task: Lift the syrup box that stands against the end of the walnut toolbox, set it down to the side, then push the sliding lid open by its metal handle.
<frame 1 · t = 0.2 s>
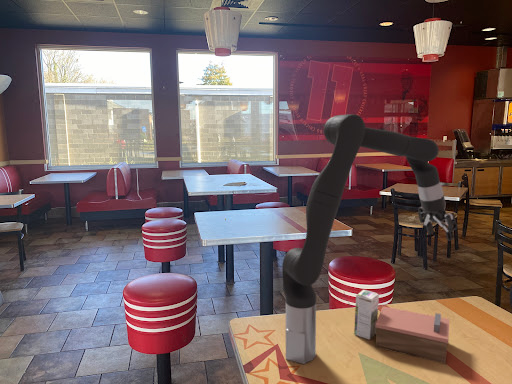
hand: (440, 236, 134), 31 cm above the table, tool tilted 20°, fingers open, 8 cm apart
syrup box: (365, 334, 129), on the table
toolbox lid: (412, 319, 121), point 9 cm above the table, slide at 0.0 cm
toolbox: (411, 344, 123), on the table
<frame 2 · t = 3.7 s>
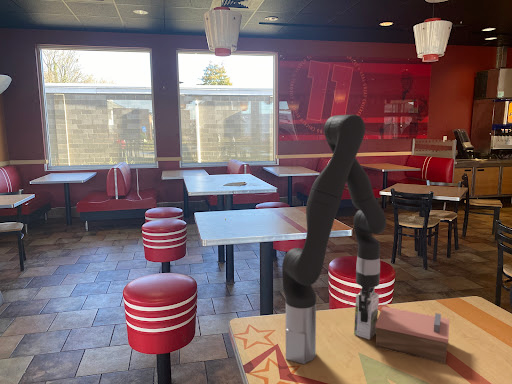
hand: (366, 317, 128), 6 cm above the table, tool pointing down, fingers closed on syrup box, 6 cm apart
syrup box: (365, 334, 129), on the table, touching gripper
everything else where it was.
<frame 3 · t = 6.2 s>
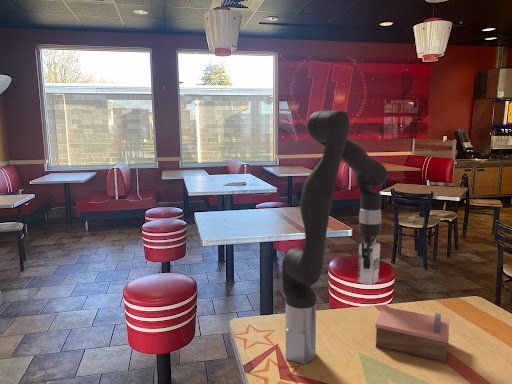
hand: (368, 265, 139), 20 cm above the table, tool pointing down, fingers closed on syrup box, 6 cm apart
syrup box: (368, 282, 140), point 13 cm above the table, touching gripper
everything else where it was.
when the fingers open (8 cm above the table, at t = 9.0 s): syrup box drops 1 cm, on the table.
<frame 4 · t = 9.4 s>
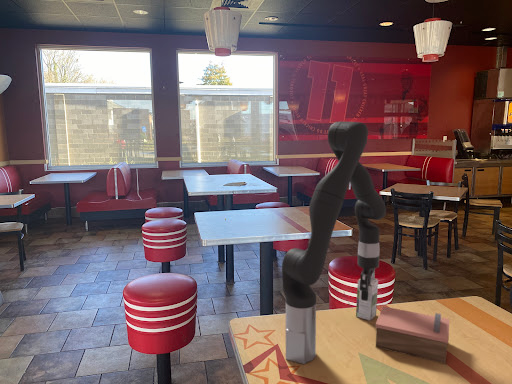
hand: (367, 295, 141), 8 cm above the table, tool pointing down, fingers open, 8 cm apart
syrup box: (366, 316, 142), on the table
everything else where it was.
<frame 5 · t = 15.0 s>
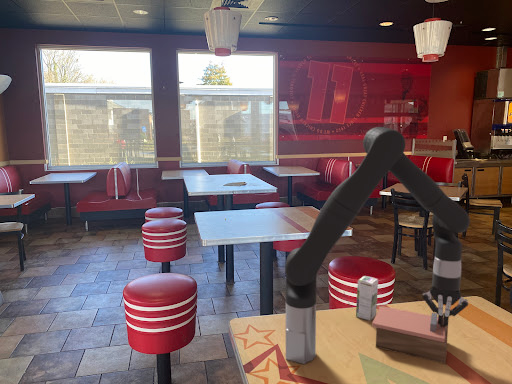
hand: (442, 325, 117), 9 cm above the table, tool pointing down, fingers closed
toolbox lid: (409, 319, 122), point 9 cm above the table, slide at 1.0 cm, touching gripper
everything else where it was.
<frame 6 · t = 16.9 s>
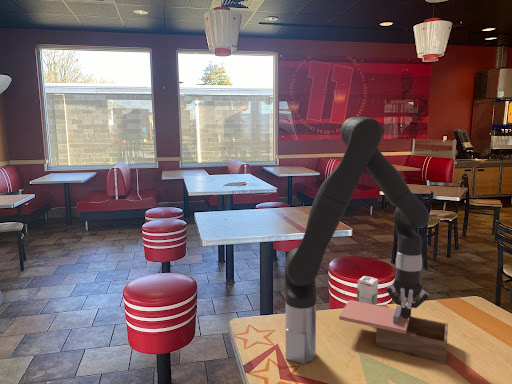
hand: (405, 317, 122), 9 cm above the table, tool pointing down, fingers closed
toolbox lid: (375, 312, 127), point 9 cm above the table, slide at 11.6 cm, touching gripper
everything else where it was.
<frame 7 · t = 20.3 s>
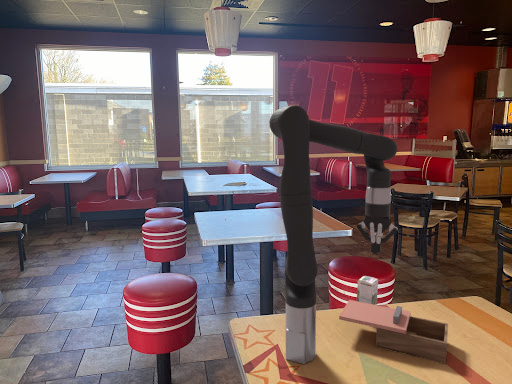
hand: (375, 253, 123), 29 cm above the table, tool pointing down, fingers closed
toolbox lid: (375, 312, 127), point 9 cm above the table, slide at 11.6 cm
everything else where it was.
at the end: toolbox lid slide at 11.6 cm; syrup box inside the target area (0.0 cm from its centre), on the table; syrup box tilted 0° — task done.
